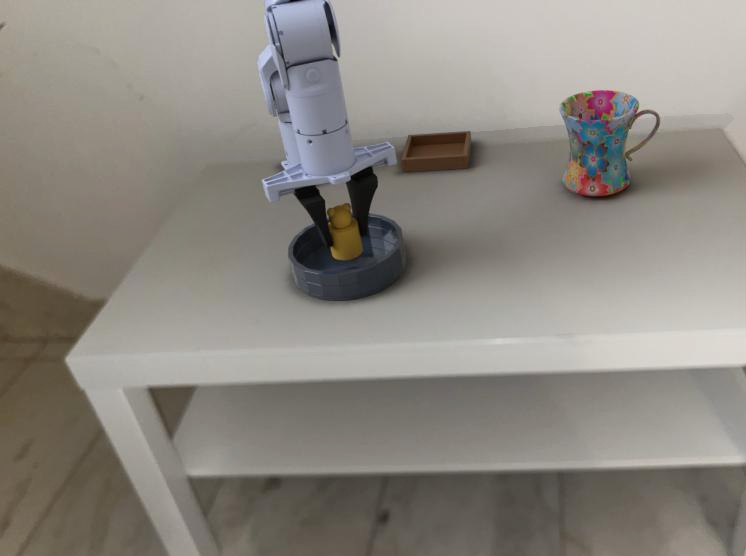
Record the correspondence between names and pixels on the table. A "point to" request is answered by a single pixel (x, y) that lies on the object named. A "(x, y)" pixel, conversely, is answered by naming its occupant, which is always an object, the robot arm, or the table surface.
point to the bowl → (348, 262)
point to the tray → (437, 151)
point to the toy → (344, 233)
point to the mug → (600, 140)
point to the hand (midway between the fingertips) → (344, 237)
